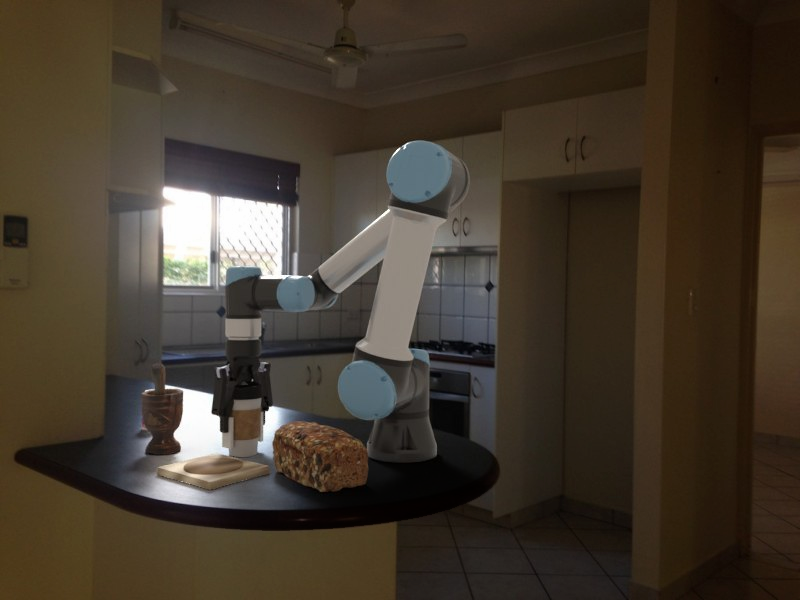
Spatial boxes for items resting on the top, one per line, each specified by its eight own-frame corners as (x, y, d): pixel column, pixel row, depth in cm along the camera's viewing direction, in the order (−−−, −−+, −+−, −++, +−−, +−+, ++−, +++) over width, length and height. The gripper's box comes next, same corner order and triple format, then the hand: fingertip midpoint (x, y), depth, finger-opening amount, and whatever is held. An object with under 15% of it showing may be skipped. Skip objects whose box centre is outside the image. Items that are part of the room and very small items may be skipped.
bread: (271, 472, 135) (271, 421, 135) (318, 464, 141) (318, 415, 141) (321, 496, 120) (321, 439, 120) (371, 485, 127) (371, 431, 126)
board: (269, 473, 134) (269, 464, 134) (209, 490, 122) (209, 480, 122) (216, 460, 143) (216, 451, 143) (157, 474, 132) (157, 465, 132)
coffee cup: (253, 459, 144) (253, 388, 144) (215, 457, 146) (216, 386, 145) (269, 450, 152) (269, 382, 152) (233, 448, 154) (233, 381, 154)
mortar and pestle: (191, 456, 147) (191, 362, 146) (148, 461, 142) (148, 364, 142) (178, 445, 157) (178, 357, 156) (138, 449, 152) (137, 359, 152)
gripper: (267, 334, 159) (267, 433, 159) (192, 340, 142) (192, 450, 143) (290, 336, 154) (289, 438, 155) (215, 342, 138) (215, 455, 138)
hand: (243, 443), depth 149 cm, fingers closed on coffee cup, 7 cm apart
